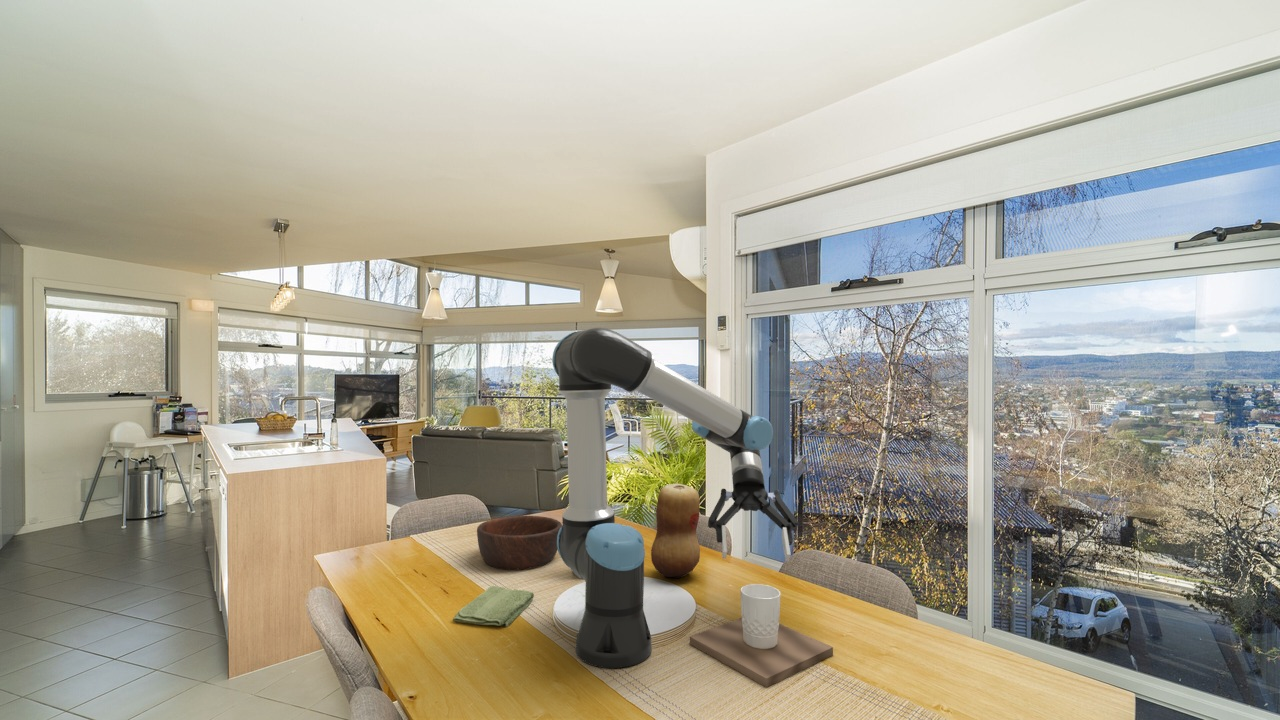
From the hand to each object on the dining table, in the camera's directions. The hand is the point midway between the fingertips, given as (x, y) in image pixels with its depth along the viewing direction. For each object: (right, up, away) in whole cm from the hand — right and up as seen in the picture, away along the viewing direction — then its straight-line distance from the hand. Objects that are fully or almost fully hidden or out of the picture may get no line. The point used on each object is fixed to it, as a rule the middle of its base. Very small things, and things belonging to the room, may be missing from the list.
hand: (756, 556), depth 120 cm
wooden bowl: (-62, -17, +45) cm, 78 cm away
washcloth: (-59, -16, +8) cm, 61 cm away
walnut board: (-1, -15, -9) cm, 18 cm away
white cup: (-1, -14, -9) cm, 17 cm away
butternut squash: (-15, -17, +33) cm, 40 cm away
